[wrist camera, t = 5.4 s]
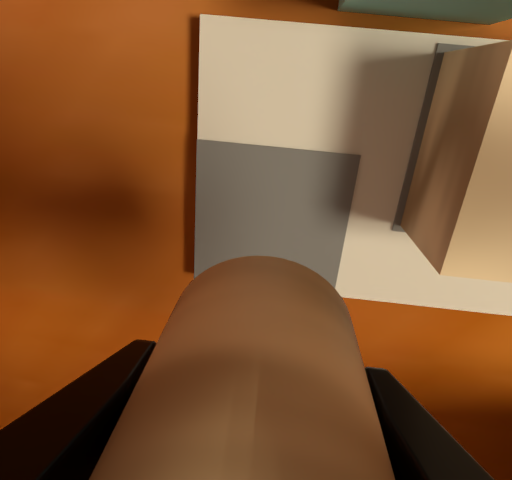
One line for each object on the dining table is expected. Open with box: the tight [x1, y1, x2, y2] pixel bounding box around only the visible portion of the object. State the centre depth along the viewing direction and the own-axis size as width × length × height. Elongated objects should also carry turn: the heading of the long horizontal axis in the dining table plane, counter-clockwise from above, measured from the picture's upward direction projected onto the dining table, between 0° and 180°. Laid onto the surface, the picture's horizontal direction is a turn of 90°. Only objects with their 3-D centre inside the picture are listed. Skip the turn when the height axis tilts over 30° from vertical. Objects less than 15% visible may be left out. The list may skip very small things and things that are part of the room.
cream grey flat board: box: [194, 14, 512, 316], centre depth 14 cm, size 10×16×1 cm, turn 85°
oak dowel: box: [89, 256, 395, 480], centre depth 5 cm, size 4×4×6 cm
